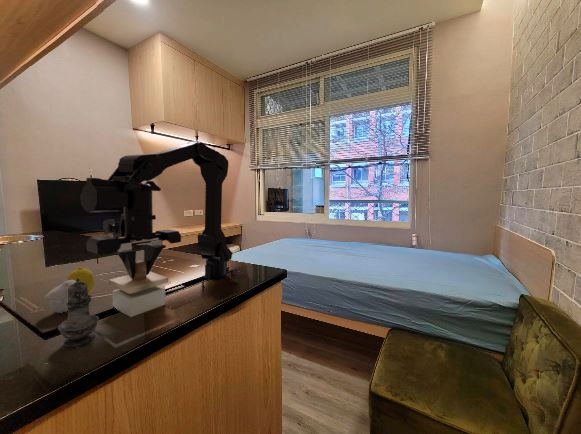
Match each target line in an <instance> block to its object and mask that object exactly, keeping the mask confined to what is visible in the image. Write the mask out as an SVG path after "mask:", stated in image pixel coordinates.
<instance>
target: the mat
mask: <svg viewBox="0 0 581 434" xmlns="http://www.w3.org/2000/svg"><path fill="white" fill-rule="evenodd" d="M171 282H173V280H172V281H171V280H169V279H168V283H165V284H161V285H158V286H160V287H162V288H165V286H166V285H169V284H171ZM180 285H181V286H178V287H175V288H172V289H169V290H167V291H165V294H166V293H167V292H168V293H169V292H172V291H174V290H178V289H181V288H183V287H185V285H182V284H180Z"/></svg>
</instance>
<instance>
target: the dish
mask: <svg viewBox="0 0 581 434" xmlns="http://www.w3.org/2000/svg"><path fill="white" fill-rule="evenodd" d="M165 305H166V293H165V288H162V287H160V286H154V287H151V288H148V289H144V290H141V291H137V292H134V293H130V294H128V293H126V292H124V291H122V290H120V289H117V288H116V289H114V290H112V307H113V306H114V307H115V308H116V309H117V311H119V312H121V313H123V314H124V315H126V316H127V317H130V318H132V317H135V316H139V315H141V314H143V313H147V312H149V311H152V310H154V309H155V310H156V309H157V308H160V307H163V306H165ZM115 308H114V309H115ZM116 309H115V310H116Z"/></svg>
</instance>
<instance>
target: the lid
mask: <svg viewBox="0 0 581 434" xmlns="http://www.w3.org/2000/svg"><path fill="white" fill-rule="evenodd" d="M168 280H169V277H167V276H164V275H162V274H158V273H156V272H153V271H150V272H149V274H148V275H147V274H146V261H144V259H143V260H142V259H141V260H140V259H139V260H136V263H135V276H134V278H130V276H129V274H128V275H127V274H126V275H123V276H117V277H114V278H110V279H108V285H109V286H110V287H113V288H116V290H117V289H120V290H122V291H124V292H126V293H128V294H130V293H134V292H137V291H141V290H144V289H148V288H151V287H154V286H158V285H161V284H165V283H168Z"/></svg>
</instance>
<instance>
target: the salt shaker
mask: <svg viewBox="0 0 581 434" xmlns="http://www.w3.org/2000/svg"><path fill="white" fill-rule="evenodd" d="M79 280H80V279H79V278H77V279H76V280H75V281H76V282H75V283H73V284H71V285H70V286H69V287H68V303H66V306H67V307H68V312H67V318H66V319H65V320H63V321H62V322H61V323H60V324H58V326H57V330H58V331H59V332H60V334H61V336H62V337H63V338H64V339H65V340H63V341H62V342H61V343H60V348H61V349H63V350H76V349H81V348H83V347H86V346H90V345H91V344H92V343H94V342H96V341H97V339H98V337H99V336H98V334H97V333H96V332H94V331H95V329H96V328H97V326H98V322H99V320H100V318H99V316H97V315H94V314H91V313H90V303H91V302H92V301H91V299H90V298H89V293H88V286H87V284H86V283H84V282H79Z"/></svg>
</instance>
